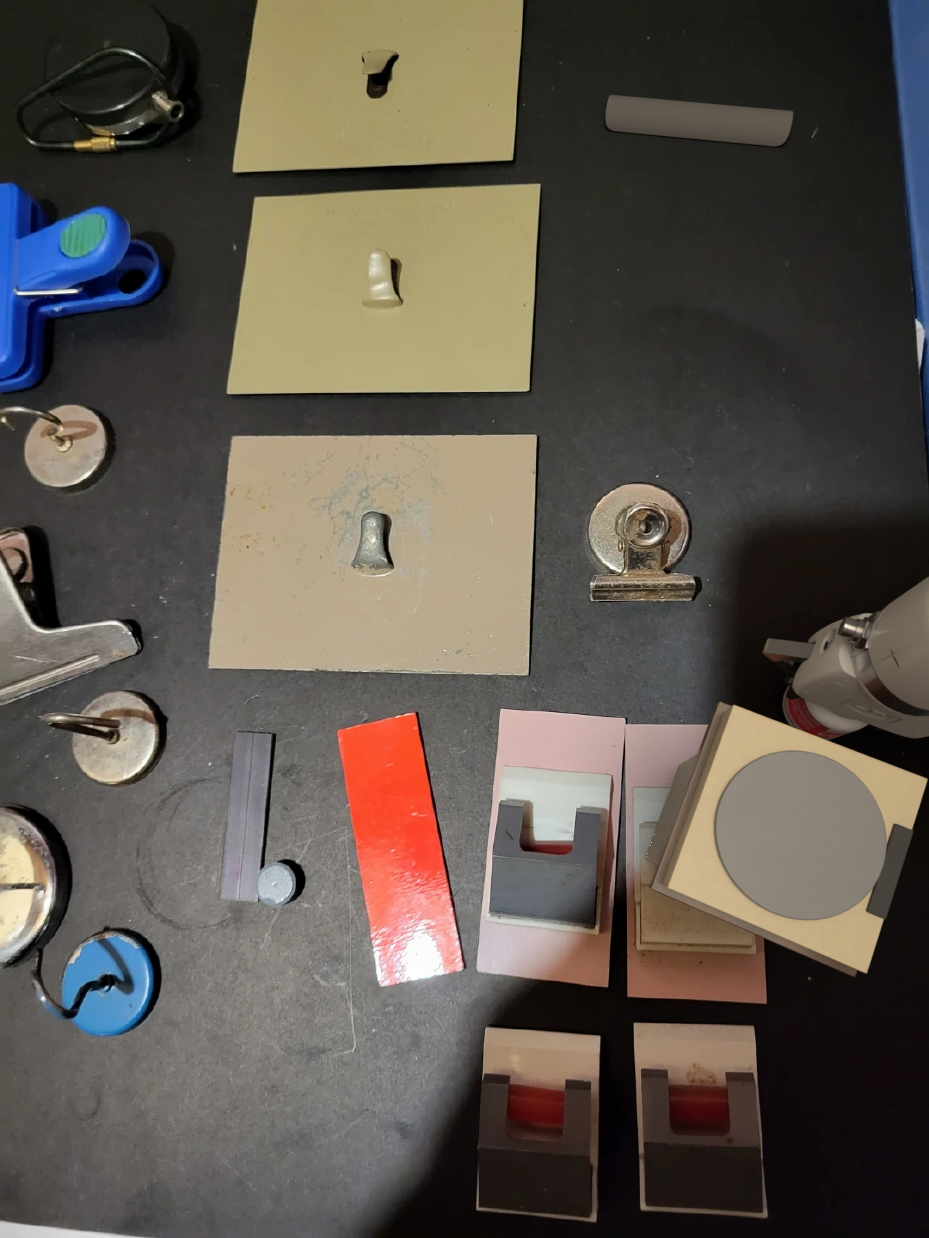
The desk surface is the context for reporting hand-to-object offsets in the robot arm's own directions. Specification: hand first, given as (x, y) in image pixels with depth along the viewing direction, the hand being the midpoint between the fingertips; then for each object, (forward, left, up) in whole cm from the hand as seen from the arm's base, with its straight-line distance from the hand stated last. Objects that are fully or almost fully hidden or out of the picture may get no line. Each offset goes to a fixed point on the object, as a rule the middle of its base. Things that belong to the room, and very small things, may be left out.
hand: (836, 697), depth 72 cm
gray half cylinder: (+31, -56, -6) cm, 64 cm away
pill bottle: (0, 0, -6) cm, 6 cm away
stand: (+5, +14, -6) cm, 16 cm away
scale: (+5, +14, +21) cm, 26 cm away
